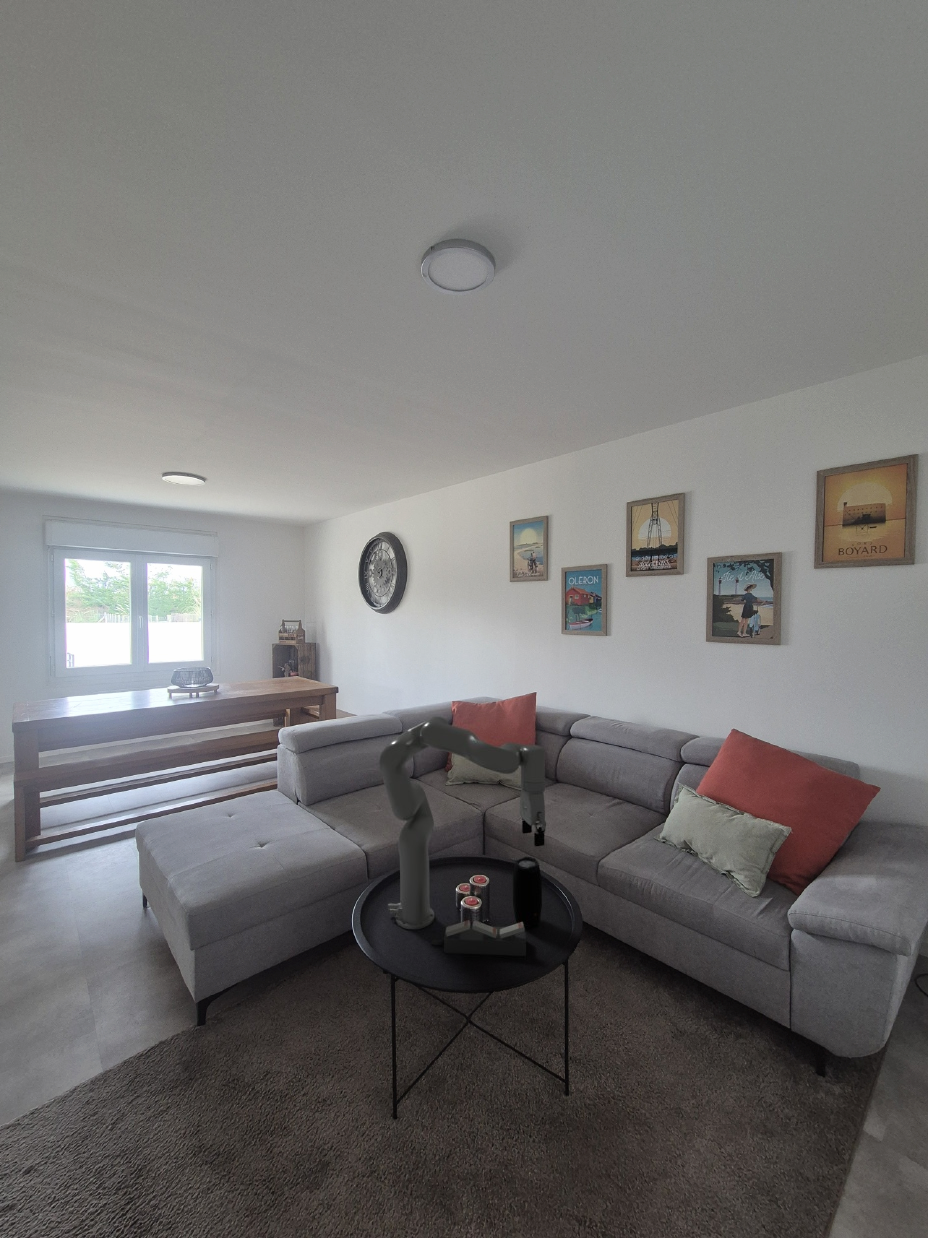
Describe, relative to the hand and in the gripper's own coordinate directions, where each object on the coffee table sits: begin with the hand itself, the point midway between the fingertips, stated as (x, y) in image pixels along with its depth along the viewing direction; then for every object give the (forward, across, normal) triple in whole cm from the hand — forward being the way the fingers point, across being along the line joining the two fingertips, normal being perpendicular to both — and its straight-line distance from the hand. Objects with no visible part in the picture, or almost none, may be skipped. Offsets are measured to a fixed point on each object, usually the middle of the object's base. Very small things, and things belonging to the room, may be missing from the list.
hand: (532, 839), depth 159 cm
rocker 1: (+22, +3, -26) cm, 34 cm away
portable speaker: (+28, -4, 0) cm, 29 cm away
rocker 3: (+22, +8, -10) cm, 26 cm away
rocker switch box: (+28, +4, -19) cm, 34 cm away
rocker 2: (+22, +6, -18) cm, 29 cm away
